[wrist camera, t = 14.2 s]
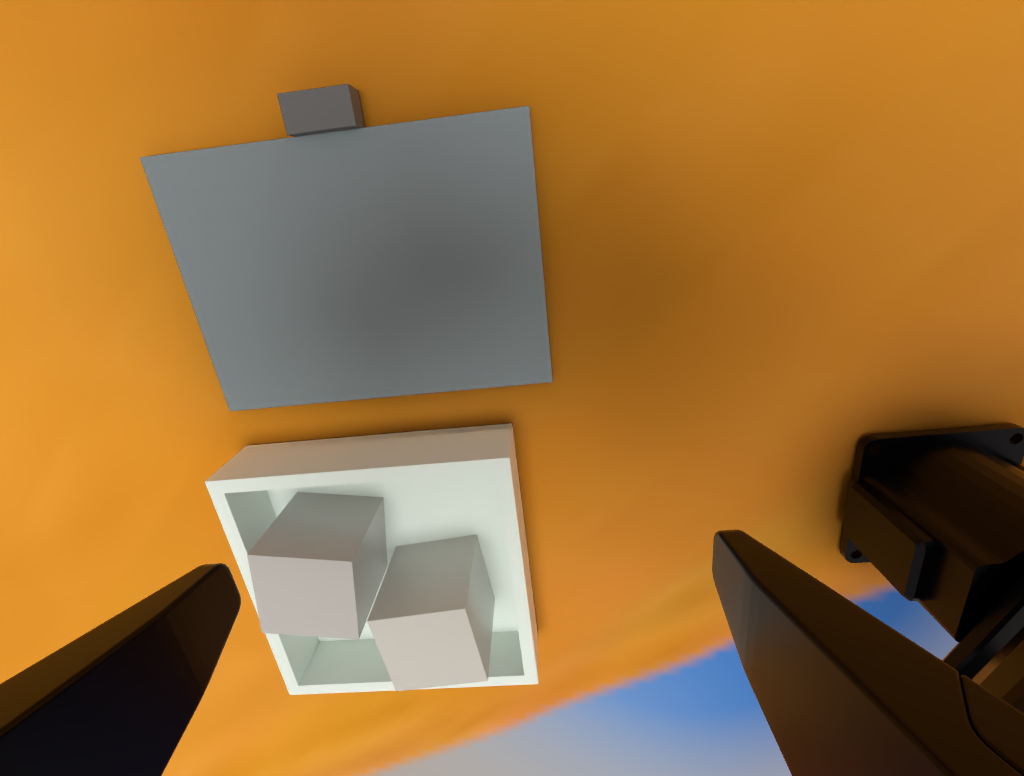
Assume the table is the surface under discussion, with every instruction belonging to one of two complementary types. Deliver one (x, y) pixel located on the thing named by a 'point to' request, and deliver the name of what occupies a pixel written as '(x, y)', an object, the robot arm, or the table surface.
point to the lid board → (362, 254)
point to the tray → (394, 534)
